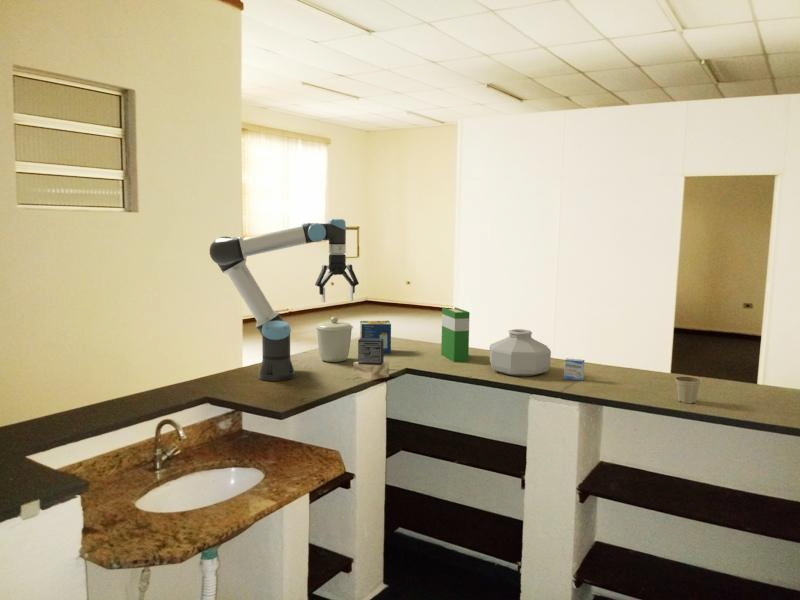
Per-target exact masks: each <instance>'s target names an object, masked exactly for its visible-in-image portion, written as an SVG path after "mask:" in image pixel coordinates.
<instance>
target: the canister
mask: <svg viewBox="0 0 800 600" xmlns="http://www.w3.org/2000/svg"><path fill="white" fill-rule="evenodd" d="M314 328H315V329H316V336H317V344H318V352H319V357H320V359H321V360H322V361H324V362H327V363H328V362H329V363H339V362H345V361H346V360H347V359H348V358H349V354H350V347H351V338H352V330H353V328H354V326H353V325H352V324H351V323H348V322H344V321H339V318H338V317H337V316H331V318H330V321H324V322H320V323H318V324H317V325H315V326H314Z"/></svg>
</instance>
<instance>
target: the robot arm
mask: <svg viewBox="0 0 800 600" xmlns="http://www.w3.org/2000/svg"><path fill="white" fill-rule="evenodd" d="M346 224H347V223H346V220H345V219H342V218H341V219H339V218H330V219H328V222H326V223H318V222H314V223H313V222H308V223H306V222H305V223H304V222H303V223H302V224H301V226H297V227H292V228H287V229H286V228H285V229H282V230H277V231H274V232H273V231H272V232H269V233H262V234H259V235H253V236H247V237H241V236H236V237H231V236H221V237H219V238H217V239H215V240H214V241H213V242H212V243H211V244H210V246H209V256H210V259H212V261H213V262H214V263H216V264H217V266H218V267H219V268H220V271H221V272H222V273H223V274H227V275H228V276H229V278H230V280H231V281H232V282H233V283H232V284H234V286H235V288H236V289H237V291H238V293H239V294H240V297H241V298H242V299H243V301H244V303H245V304H246V306H247V307H248V309H249V311H250V312H251V314H252V315H253V317H254V319H255V321H256V324H255V327H256V329H257V331H258V332H259V334H260V336H261V338H262V343H261V345H262V346H261V347H262V350H261V351H262V361H261V365H260V368H259V369H258V379H260V380H262V381H266V382H267V381H268V382H282V381H287V380H291V379H293V378H294V379H295V375H296V374H295V372H296V371H295V369H294V365H293V363H292V360H291V325H290V324H289V323H288V322H287V321H284V319H283V317H282V316H281V314H280V313H279V311H274V309H273V307H272V306H271V304H270V302H269V301H268V299H267V298H266V296H265V294H264V292H263V291H262V289H261V287H260V286H259V284H258V283H257V281H256V279H255V277H254V275H253V274H252V273H251V271H250V269H249V267H248V266H247V264H246V263H247V258H248V257H250V256H254V255H255V256H256V255H260V254H265V253H268V252H269V253H270V252H274V251H277V250H278V251H279V250H283V249H286V248H292V247H297V246H302V245H306V244H311V243H318V242H322V241H327V242H328V254H329V255H328V265H327V264H325V265H324V264H322V265H321V271H320V273H319V275H318V277H317V279H316V282H315V284H314V285H315V286H316V287H318V288H319V290H318V291H319V295H320V297H321V298H320V300H321V301H320V302H321V303H326V287H325V286H326V284H327V283H328V282H329V280H330V279H331V278H332V277H333V276H338V275H339V276H340V275H341V276H343V277H344V279H345V280H346V281H347V283H348V284H349V286H348V301H351V302H353V301H354V294H355V292H356V288H355V287H356V286H358V285H360V284H359V281H358V278H357V276H356V273H355V271H354V270H353V269H354V268H353V265H352V264H349V263H348V264H346V263H347V262H346V261H347V260H346V259H347V256H346V251H347V249H346V247H347V246H346V245H347V244H346V241H347V240H346V239H347V238H346V236H347V235H346V234H347V233H346V232H347V228H346ZM327 270H329V271H328V272H327ZM345 270H348V273H349V274H348V273H347V271H345ZM326 272H327V274H326ZM349 275H350V276H349Z"/></svg>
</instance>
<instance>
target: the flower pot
mask: <svg viewBox="0 0 800 600" xmlns="http://www.w3.org/2000/svg"><path fill="white" fill-rule="evenodd" d="M674 380H675V383H676V390H677V400H678V402H682V403H684V404H693V403H696V402H697V398H698V393H699V387H700V386H701V383H702V379H701V378H698V377H694V376H686V375H685V376H684V375H683V376H679V375H678V376H675V377H674Z"/></svg>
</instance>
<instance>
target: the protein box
mask: <svg viewBox="0 0 800 600" xmlns="http://www.w3.org/2000/svg"><path fill="white" fill-rule="evenodd" d="M359 323H360V326H359V329H360V330H359V333H360V334H359V335H360V337H359V339H360V338H377V339H384V341H383V342H384V345H383V346H384V355H391V354H392V323H391V322H390V320H360V321H359Z"/></svg>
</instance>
